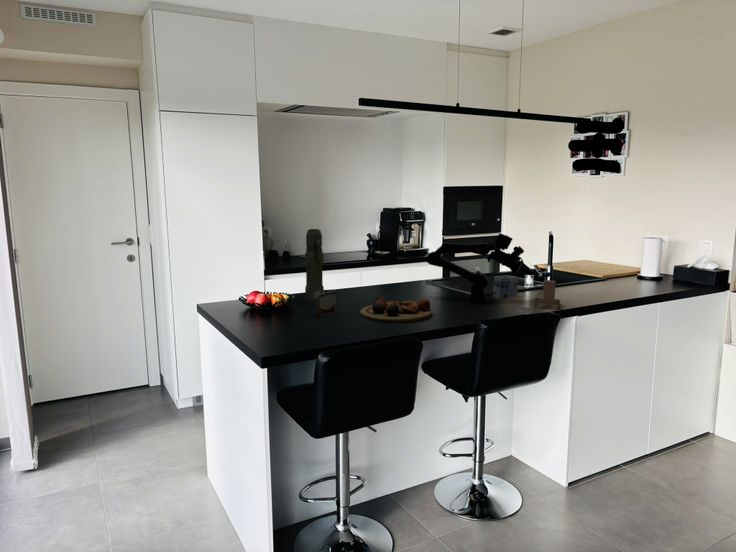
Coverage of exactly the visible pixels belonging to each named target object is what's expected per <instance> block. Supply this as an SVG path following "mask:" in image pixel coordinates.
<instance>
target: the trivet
mask: <svg viewBox="0 0 736 552" xmlns="http://www.w3.org/2000/svg"><path fill="white" fill-rule="evenodd" d="M513 311H514V312H515V313H519V314H526V313H534V314H537V313H536V312H538V313H539V309H535V308H532V307H514V308H513Z"/></svg>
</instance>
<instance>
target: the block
mask: <svg viewBox="0 0 736 552" xmlns="http://www.w3.org/2000/svg"><path fill="white" fill-rule="evenodd" d="M542 293H543V294H542V298H543V304H550V305H554V299H556V298H555V296H556V280H552V279H551V280H549V279H544V280H543V292H542Z"/></svg>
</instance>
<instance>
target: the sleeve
mask: <svg viewBox="0 0 736 552" xmlns="http://www.w3.org/2000/svg"><path fill="white" fill-rule="evenodd" d="M534 309H536V310H547V311H549V310H550V311H561V300H560V299H559V298H558V299H557V298H554V305H550V304H543V297H541V298H540V297H535V298H534Z"/></svg>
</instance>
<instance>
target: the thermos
mask: <svg viewBox="0 0 736 552" xmlns="http://www.w3.org/2000/svg"><path fill="white" fill-rule="evenodd" d="M305 243H306V244H305V246H306V248H305V249H306V250H305V254H304V266H305V275H306V276H305V278H306V280H305V281H306V282H305V284H306V285H305V287H304V289H305V290H304V293H305V294H304V295H305V302H306V303H311V304H312V303H313V304H316V301H315V298H314V293H315V292H316V291H319V290H325V289H324V288H325V287H324V285H323V266H324V253H323V248H322V247H323V235H322V232H321V230H320V229H319V228H309V229H307V231H306V235H305Z"/></svg>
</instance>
